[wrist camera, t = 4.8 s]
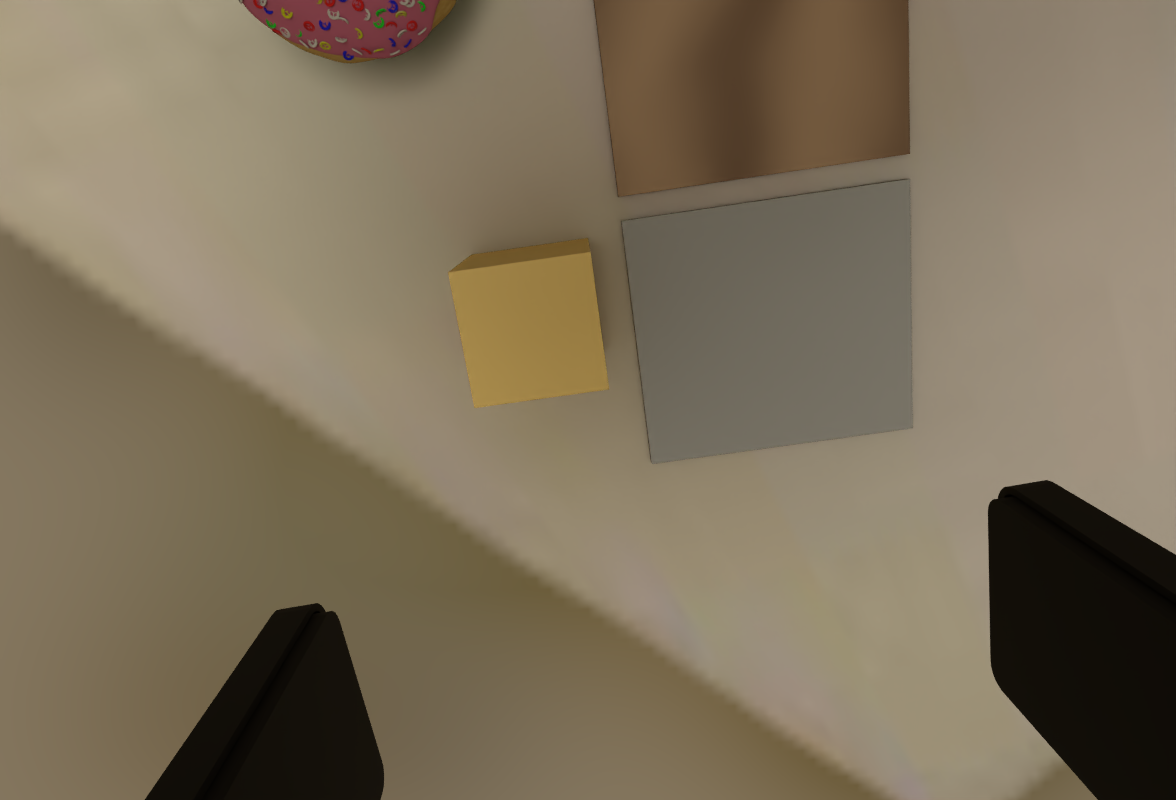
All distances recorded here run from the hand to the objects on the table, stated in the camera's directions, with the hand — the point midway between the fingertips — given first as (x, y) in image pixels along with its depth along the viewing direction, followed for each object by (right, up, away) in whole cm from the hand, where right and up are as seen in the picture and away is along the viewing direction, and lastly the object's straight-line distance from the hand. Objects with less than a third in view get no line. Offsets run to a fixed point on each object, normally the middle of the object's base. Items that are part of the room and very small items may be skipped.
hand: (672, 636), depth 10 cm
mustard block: (-3, +8, +21) cm, 23 cm away
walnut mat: (+5, +18, +18) cm, 26 cm away
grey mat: (+7, +7, +22) cm, 24 cm away
